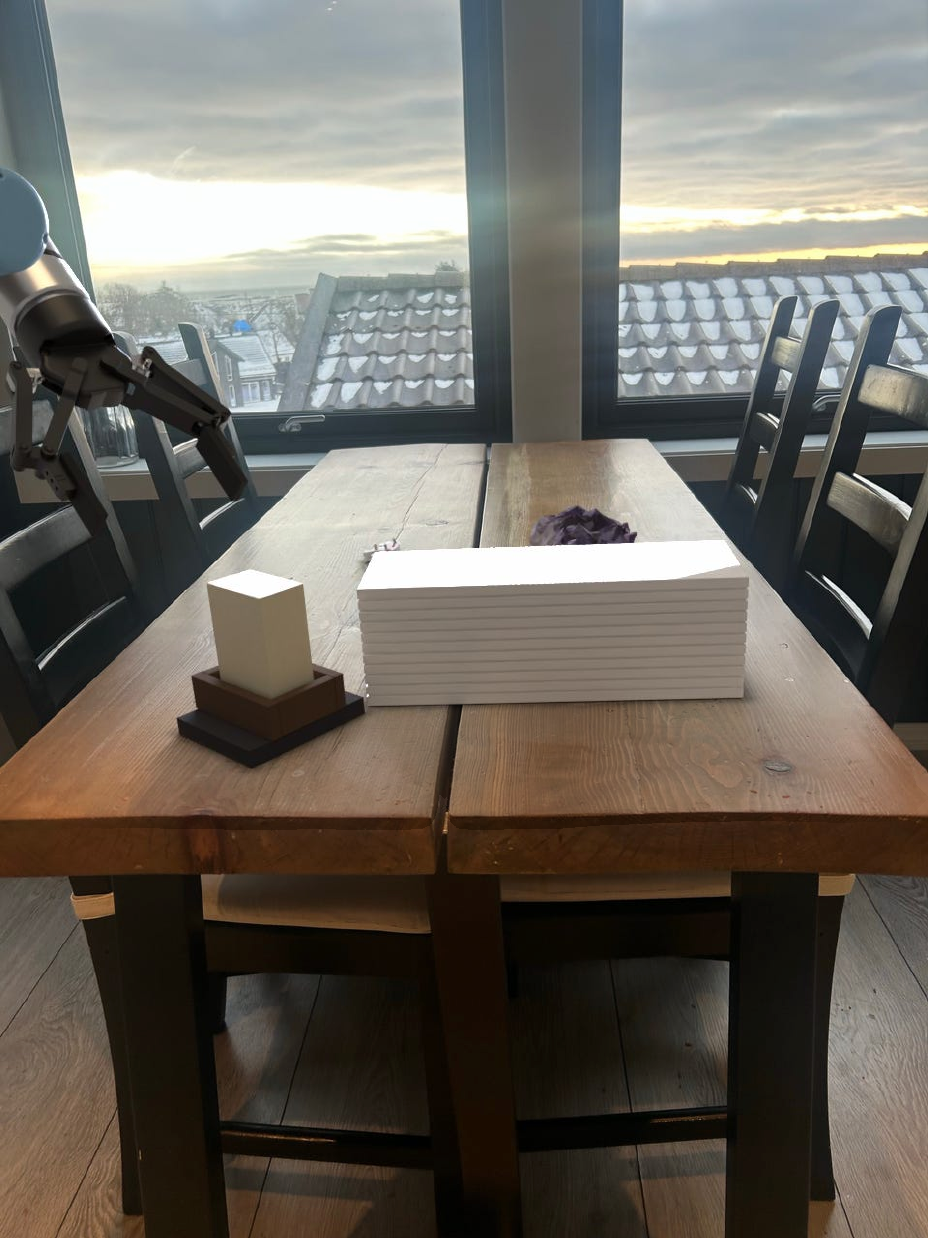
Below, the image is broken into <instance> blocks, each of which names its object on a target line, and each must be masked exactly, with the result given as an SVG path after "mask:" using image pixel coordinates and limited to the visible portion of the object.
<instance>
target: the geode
mask: <svg viewBox="0 0 928 1238" xmlns="http://www.w3.org/2000/svg"><path fill="white" fill-rule="evenodd" d="M637 536H638V531H632V532H631V528H630V525H629V523H628V522H623V523H621V522H620V521H619V520H616V519H614V518H612V517H611V518H610V517H608V516H606V515H605V514H603V513H602V512H601V511H600V510H598V509H597V508H593V509H590V510H586V508H584V507H583V506H580V505H573V506H570V507H568V508H565V509H563V510H562V511H561V512H559V513H558V514H543V515H541V516H539V518H538V519H537V520H536V522H535V524H534V526H533V528H532V530H531V532H530V536H528V541H529V544H530V547H546V546H573V545H575V546H576V545H603V544H632V543H635V540H636V538H637Z"/></svg>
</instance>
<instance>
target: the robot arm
mask: <svg viewBox="0 0 928 1238" xmlns="http://www.w3.org/2000/svg"><path fill="white" fill-rule="evenodd" d="M49 222H50V221H49V217H48V212H47V210H46V207H45V204H44V202H43V200H42V198H41V196H40V195H39V193H38V192H37V190H36V189H35V187H34V186H33V185H32V184H31V183H30V182H29V181H28V180H27V179H26V178H25V177H23V176H22V175H21V174H20V173H18V172H16V171H14V170H12V169H10V168H8V167H4V166H0V318H1V319H2V321H3V323H4V325H5V326H6V327H7V329H8V331H9V332H10V334H11V335H12V337H13V338H14V339H15V340H16V343H17V346H18V348H19V349H20V350H21V352H22V354H23V356H24V357H25V358H26V360H27V362H28V363H29V365H30V367H26V365H25V364H24V363H23V362H21V361H20V360H12V361H10V363H9V365H8V368H7V373H6V377H5V381H4V387H5V389H6V392H7V394H8V397H9V398H10V400H11V425H10V426H11V427H10V428H11V429H10V460H9V463H10V464H9V465H10V469H12V470H13V471H15V472H18V473H23V472H25V471H26V470H27V469H28V470H34V471H33V475H34V477H35V478H36V479H38V480H41V481H45V480H46V482H47V484H48V485H49V487H50V488H51V490H52V491H53V494H54V495H55V496H56V498H57V499H58V500H59V501H60V502H66V501H69V502H70V504H71V505H72V507H73V509H74V511H75V512H76V514H77V515H78V517H79V519H80V520H81V522H82V524H83V525H84V527H85V528H86V530H87V531H88V533H89V535H90V537H96V536H100V535H101V534H102V531H103V529H104V527H105V524H106V522H107V519H108V517H109V513H108V512H107V510H106V508H105V507H104V506H103V504H102V502H101V501H100V499H99V496H97V494H96V493H95V491H94V490H93V487H92V486H91V485H90V483H89V481H88V480H87V478H86V476H85V475H84V473H83V472H82V470H81V468H80V466H79V465H78V464H77V462H76V459H74V457H73V455H72V454H71V452H70V451H66V452H60V453H59V450H60V447H61V444H62V441H63V439H64V436H65V433H66V430H67V427H68V426H69V425H68V424H69V422H70V419H71V417H72V414H73V411H74V408H75V407H76V408H80V409H84V411H85V412H90V411H95V410H97V409H100V408H116V407H119V406H120V405H121V406H123V407H124V408H127V409H128V410H130V411H137V410H139V411H142V413H146V414H147V415H149V416H151V417H153V418H155V419H157V420H159V421H161V422H163V423H165V424H167V425H169V426H171V427H173V428H174V429H177V430H179V431H181V432H182V433H184V434H187V435H188V436H190V437H193V438H194V439H196V440H197V441H196V443H195V445H194V447H195V448H196V450H197V452H198V453H199V455H200V456H201V457H202V459H203V461H204V463H205V464H206V466H207V467H208V468H209V470H210V471H211V473H212V475H213V476H214V477H215V479H216V480H217V482H218V484H219V485H220V486H221V488H222V489H223V491H224V492H225V494H226V495H227V497H228V499H229V500H230V502H231V503H232V502H236V501H239V500H240V498H241V496H242V494H243V492H244V491H245V489H246V487H247V485H248V483H249V479H248V478H247V477H246V475H245V474H244V472H243V471H242V469H241V468H240V466H239V465H238V463H237V461H236V460H235V457H236V452H235V451H236V450H235V449H234V448H233V446H232V445H231V443H230V442H229V440H228V439H227V437H226V435H225V434H224V430H225V428H226V426H227V424H228V422H229V420H230V418H231V416H232V411H231V410H230V409H229V408H228V407H227V406H226V405H224V404H223V403H221V402H220V401H219V400H217V399H216V398H215V397H214V396H212V395H210V394H209V392H207V391H205V390H204V389H203V388H201V387H199V386H198V385H197V384H196V383H194V382H193V381H192V380H190V379H189V378H187V377H186V376H185V375H183V374H182V373H181V372H179V371H178V370H177V369H175V368H174V367H173V366H172V365H170V364H169V363H167V362H166V361H165V359H164V358H163V356H161V354H160V353H159V352H158V351H157V349H156V348H155V347H153V346H151V345H145V346H143V348H142V351H141V353H139V354H138V353H137V354H135V355H128V354H126V353H124V352H123V351H122V350H121V349H120V348H119V347H118V346H117V343H116V340H115V337H114V334H113V332H112V330H111V328H110V326H109V325H108V323H107V322H106V320H105V319H104V317H103V316H102V314H101V313H100V311H99V310H98V308H97V307H96V305H95V304H94V303H93V302H92V301H91V298H90V295H89V293H88V292H87V291H86V289H85V288H84V287H83V284H82V283H81V282H80V280H79V279H78V278H77V276H76V275H75V273H74V272H73V270H72V269H71V267H70V266H69V264H67V261H66V260H65V259H64V257H63V255H62V254H61V252H60V251H59V249H58V248H57V247H56V244H55V243H54V241H53V240H52V238H51V236H50V235H49V234H50V223H49ZM130 384H132V385H133V386H134V390H133V393H132V394H130V393H129V392H128V391H129V388H130ZM38 385H39V386H40V387H41V388H43V389H44V390H46V391H48V392H50V393H52V394H53V395H55V396H57V397H58V398H59V399H58V401H57V404H56V407H55V410H54V413H53V415H52V418H51V419H50V423H49V426H48V428H47V431H46V434H45V436H44V439H43V442H42V443H41V446H38V445H37V446H35V445H33V413H34V411H33V406H34V405H33V404H34V394H35V392H36V390H37V387H38ZM200 424H201V425H200ZM58 453H59V455H58Z"/></svg>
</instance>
